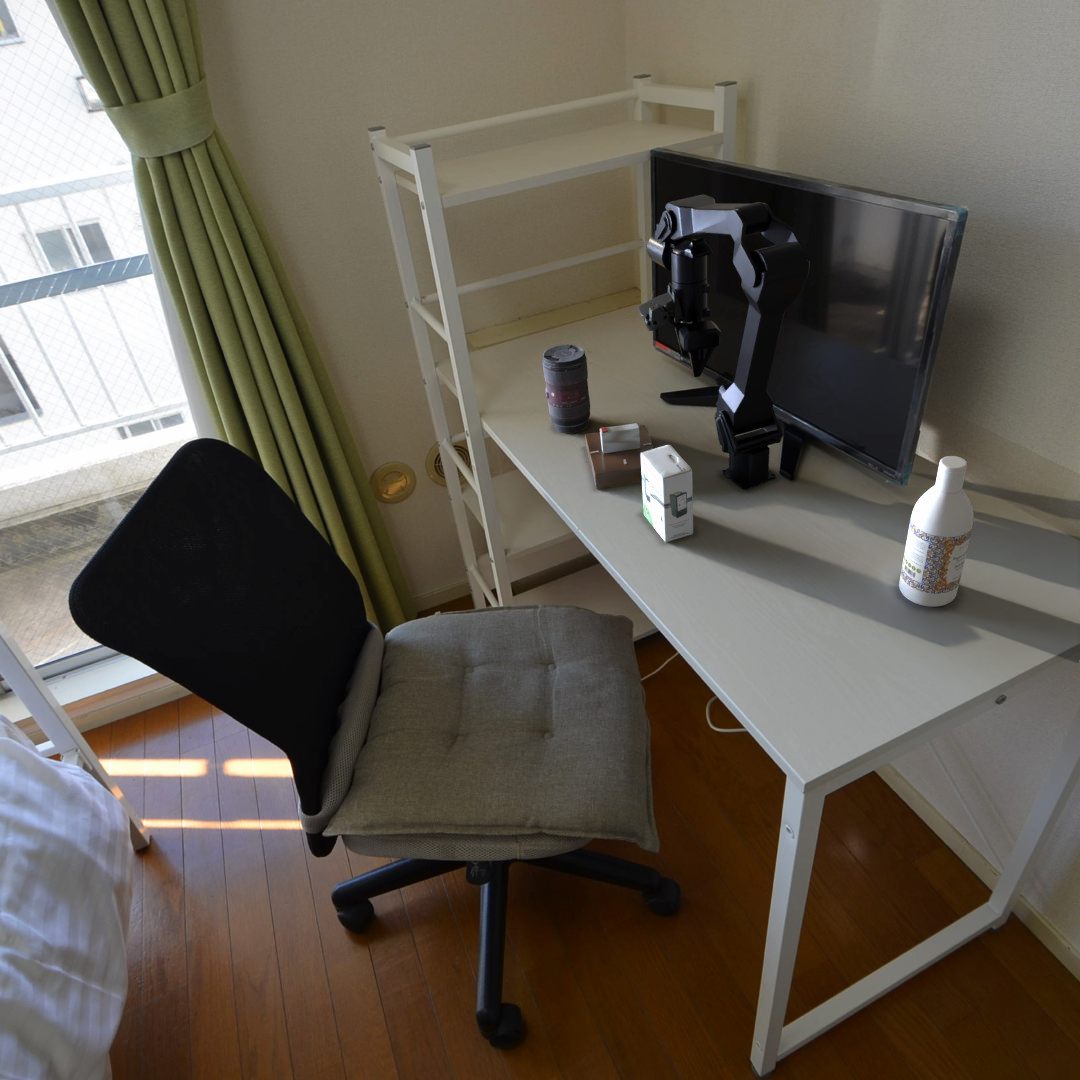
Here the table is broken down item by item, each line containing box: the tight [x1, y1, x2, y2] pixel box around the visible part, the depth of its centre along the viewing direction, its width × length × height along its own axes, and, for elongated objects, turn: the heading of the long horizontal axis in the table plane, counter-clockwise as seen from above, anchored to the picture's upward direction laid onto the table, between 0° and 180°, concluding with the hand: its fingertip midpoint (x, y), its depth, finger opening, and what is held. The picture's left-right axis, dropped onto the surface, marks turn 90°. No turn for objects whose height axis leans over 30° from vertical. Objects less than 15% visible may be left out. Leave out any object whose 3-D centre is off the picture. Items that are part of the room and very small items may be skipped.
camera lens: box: [542, 343, 591, 434], centre depth 150 cm, size 8×8×15 cm
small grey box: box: [599, 422, 640, 454], centre depth 138 cm, size 6×2×4 cm, turn 94°
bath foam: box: [898, 455, 975, 608], centre depth 100 cm, size 7×7×20 cm
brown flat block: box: [584, 424, 654, 490], centre depth 140 cm, size 14×11×3 cm
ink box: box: [641, 444, 694, 543], centre depth 122 cm, size 9×5×12 cm, turn 18°
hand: (690, 365), depth 142 cm, fingers open, 9 cm apart
